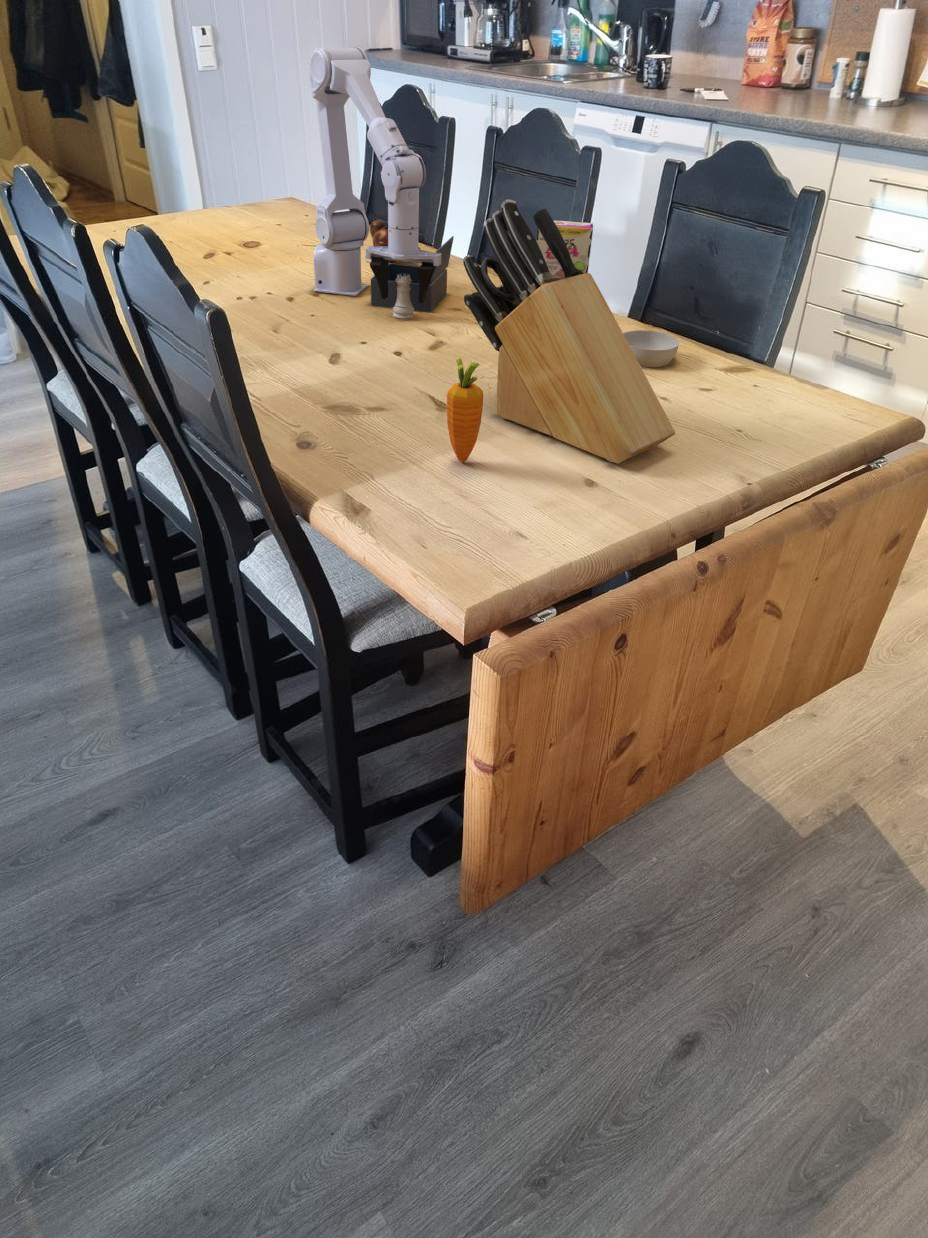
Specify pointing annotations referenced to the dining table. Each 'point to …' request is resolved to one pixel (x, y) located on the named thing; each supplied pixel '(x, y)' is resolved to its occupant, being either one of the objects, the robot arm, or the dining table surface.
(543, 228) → the knife block
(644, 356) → the grey bowl
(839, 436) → the dining table surface
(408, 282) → the rook chess piece
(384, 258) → the robot arm
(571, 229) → the candy bar box
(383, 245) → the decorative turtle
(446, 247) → the flap
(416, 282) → the carton
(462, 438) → the carrot
